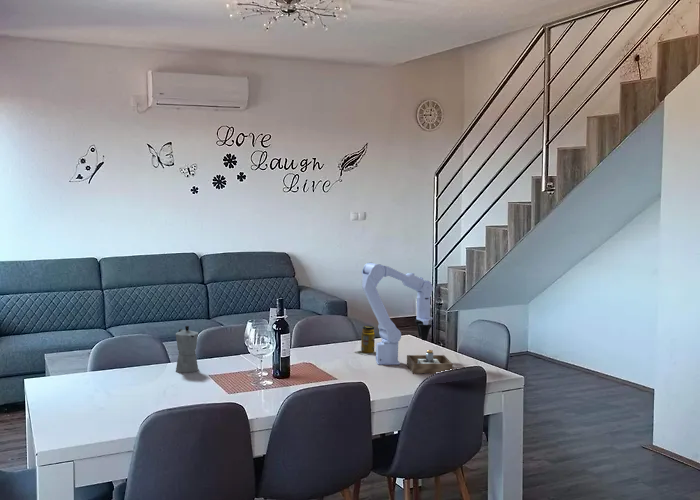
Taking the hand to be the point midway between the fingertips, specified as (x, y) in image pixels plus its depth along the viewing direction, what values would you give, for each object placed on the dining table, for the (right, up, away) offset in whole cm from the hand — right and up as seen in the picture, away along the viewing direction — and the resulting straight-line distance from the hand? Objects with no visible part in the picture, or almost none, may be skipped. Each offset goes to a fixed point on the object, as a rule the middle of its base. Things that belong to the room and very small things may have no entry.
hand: (422, 338), depth 307 cm
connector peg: (+1, -10, -15) cm, 18 cm away
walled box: (+1, -11, -15) cm, 19 cm away
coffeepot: (-98, -10, -24) cm, 101 cm away
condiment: (-24, -8, +14) cm, 29 cm away
